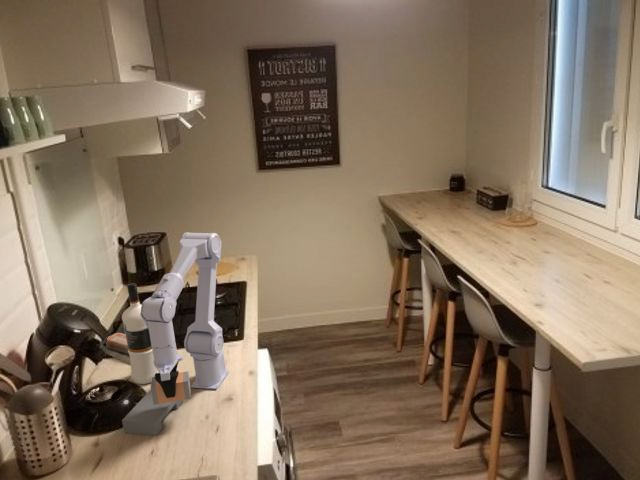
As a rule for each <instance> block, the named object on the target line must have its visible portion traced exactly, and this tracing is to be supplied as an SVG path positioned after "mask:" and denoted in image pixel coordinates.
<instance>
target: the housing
mask: <svg viewBox="0 0 640 480" xmlns="http://www.w3.org/2000/svg"><path fill="white" fill-rule="evenodd" d="M191 389H192V387H191V381H190V375H189V371H182V372H180V371H179V373H178V377H177V380H176V393H175V397H171V398H166V396H165V394H164V391H163V389H162V387H161V386H160V384H159V383H158V382H157V381H156V380H155V377H152V382H151V383H150V390H151V392H152V398H153V404H154V405H156V404H162V403H168V402H173V401H179V400H182V401H185V400H189V399H191Z"/></svg>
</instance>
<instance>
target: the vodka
mask: <svg viewBox="0 0 640 480" xmlns="http://www.w3.org/2000/svg"><path fill="white" fill-rule="evenodd" d="M126 288H127V293H128V297H129V298H128V299H129V305H130V306H128V307H127V308H126V309H124V311H123V313H122V315H121V320H122V323H123V324H122V325H123V328H124V334H125V335H126V340H127V345H128V353H129V356H130V361H131V363H130V370H131V371H130V378H131V380H132V382H133V383H135V384H139V385H147V384H151V382H152V377H155V373H160V372H159V371H158V370H157V368H156V367H155V365H154V357H153V351H152V345H151V340H150V334H149V328H148V327H147V326H146V324H145V321H144V320H143V319H142V318H141V315H140V313H141V306H142V303H140V299H139V291H138V287H137V283H134V282H133V283H132V282H131V283H128V284H127V285H126Z"/></svg>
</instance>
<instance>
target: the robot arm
mask: <svg viewBox="0 0 640 480" xmlns="http://www.w3.org/2000/svg"><path fill="white" fill-rule="evenodd" d="M178 244H179V253H178V256H177V258H176V259H175V262H174V264H173V266H172V268H171V271H170V273H165V274H164V275H163V276H162V278H161V280H160V281H159V283H158V284H157V287H156V288H155V290H154V292H153V293H152V295H151V296H150V297H148V298H146V299H145V300H143V301H142V303H141V305H142V306H141V313H140V315H141V318H142V319H143V320H144V321H145V324H146V326H147V327H148V328H149V334H150V340H151V345H152V351H153V357H154V365H155V367H156V368H157V370H158V371H159V372H160V373H155V380H156V381H157V382H158V383H159V384H160V386H161V387H162V389H163V391H164V394H165V396H166V398H171V397H175V393H176V380H177V377H178V373H180V371H179V370H177V368H178V365H179V362H182V361H183V359H184V356H183V354H178V349H177V344H176V337H175V331H174V330H175V329H174V325H173V318H174V317H175V314H176V307H177V300H178V298H179V296H180V295H181V292H182V290H183V289H184V287H185V281H184V278H185V277H186V275H187V274H188V272H189V270H190V269H191V267H192V266H193V264H194V263H196V265H197V266H198V274H197V286H196V287H197V288H196V289H197V290H196V304H195V305H196V306H195V318H194V319H195V321H194V322H192V323H191V324H189V326H187V330H186V335H185V337H184V340H183V341H184V342H183V344H184V345H183V346H184V350H185V351H186V353H188V354H189V355H190V357H191V358H192V359H193V366H194V374H195V381H193V383H192V384H190V387H191V389H192V388H195V389H204V390H205V389H207V390H208V389H209V390H217V389H218V388H219V387H220V385H221V384H222V383H223V381H224V380H225V379H226V377H227V376H228V374H229V373H230V371H229V370H227V368H226V361H225V354H224V352H223V349H224V338H223V328H222V327H221V326H220V325H219V324H218V323H217V322H215V303H216V289H217V274H218V273H217V271H218V263H220V262H221V258H222V257H221V256H222V240H221V238H220V236H219V234H218V233H216V232H209V233H208V232H206V233H205V232H204V233H203V232H190V231H189V232H187V231H186V232H184V233H183V234H182V236H181V238H180V241H179V243H178Z"/></svg>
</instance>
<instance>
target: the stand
mask: <svg viewBox="0 0 640 480" xmlns="http://www.w3.org/2000/svg"><path fill="white" fill-rule="evenodd" d="M183 403H184V402H183V400H179V401H173V402H168V403H162V404H156V405H154V404H153V398H152V392H151V389H149V391H148V392H147V393H145V395H144V396H143V397H142V398H141V399H140V401H138V403H136V405H134V407H133V408H132V409H131V410H130V411H129V412H128V413H127V414H126V415H125V417H123V419H121V423H122V428H123V432H124V433H128V434H137V435H138V434H140V435H146V436H157V435H158V434H159V433H160V432H161V431H162V429H163V423H162V421H163V420H164V418H165V417H166V416H167V415H168V414H169V413H170V411H171V410H178V409H179V408H180V407H181V405H182V404H183Z"/></svg>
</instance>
